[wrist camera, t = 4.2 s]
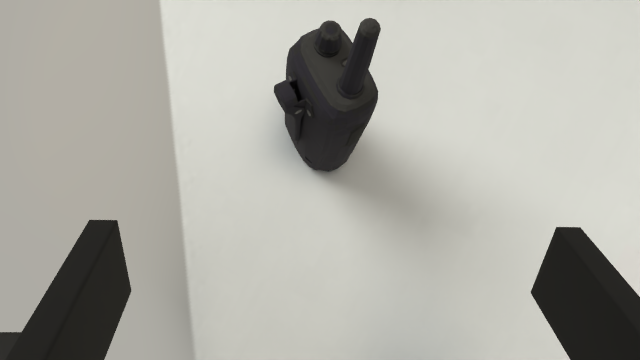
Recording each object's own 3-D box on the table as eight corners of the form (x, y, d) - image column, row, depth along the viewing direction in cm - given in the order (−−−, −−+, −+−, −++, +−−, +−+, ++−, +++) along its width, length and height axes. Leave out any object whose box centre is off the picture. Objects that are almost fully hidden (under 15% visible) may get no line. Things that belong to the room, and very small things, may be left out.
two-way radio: (359, 163, 31) (429, 48, 16) (298, 193, 30) (316, 100, 16) (320, 91, 32) (353, -77, 17) (260, 119, 31) (242, -34, 17)
